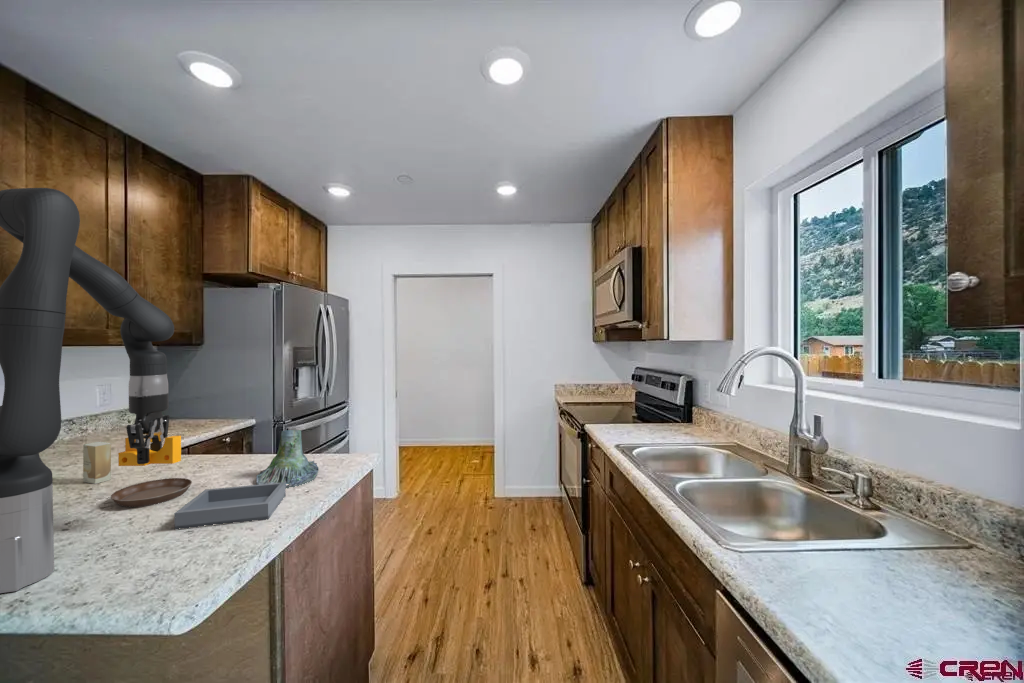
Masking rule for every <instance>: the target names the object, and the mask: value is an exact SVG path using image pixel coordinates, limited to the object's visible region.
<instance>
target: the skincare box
mask: <svg viewBox="0 0 1024 683" xmlns="http://www.w3.org/2000/svg"><path fill="white" fill-rule="evenodd" d="M82 448H83V449H82V450H83V451H82V453H83V454H82V457H83V458H82V462H83V463H82V464H83V465H82V467H83V468H82V482H83V483H88V484H99V483H103V482H107V481H110V480H112V443H111V442H105V441H104V442H103V441H95V442H90V443H86V444H82Z"/></svg>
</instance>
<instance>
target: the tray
mask: <svg viewBox="0 0 1024 683" xmlns="http://www.w3.org/2000/svg"><path fill="white" fill-rule="evenodd" d="M286 486H287V485H285V482H281V483H271V484H260V485H257V484H250V485H249V484H248V485H241V486H239V485H238V486H229V487H217V488H210V489H209V488H206V489H204V490H203V491H201V492H200V493H199V494H198V495H196V496H195V497H193V499H191V500H190V501H188V502H186V504H185V505H183V506H182V507H181V508H179V509H178V510H176V512H174V530H175V529H178V530H180V529H179V528H187V529H190V528H189V527H196V528H199V527H198V526H204V525H213V524H223V523H232V524H234V523H233V522H240V523H245V522H244V521H249V522H253V521H252V520H258V521H266V519H267V520H269V519H270V518H271V516H272V515H273V513H275V511H276V510H277V508H278V507H279V506H280V504H281V503H282V502H281V501H283V500H284V499H285V498H286V496H287V494H286V493H287V492H286V491H287V490H286ZM283 498H284V499H283ZM278 505H279V506H278ZM223 525H224V524H223Z"/></svg>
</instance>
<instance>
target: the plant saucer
mask: <svg viewBox="0 0 1024 683" xmlns="http://www.w3.org/2000/svg"><path fill="white" fill-rule="evenodd" d="M192 483H193V482H192V480H191V479H189V478H184V477H173V478H170V477H169V478H160V479H153V480H149V481H148V480H147V481H144V482H139V483H135V484H132V485H128V486H125V487H123V488H120V489H118V490H116V491H114V492H113V493H111V495H110V498H111V500H113V502H114V503H115V504H117V505H118V506H121V507H123V508H142V507H148V506H153V505H154V504H155V505H159V504H162V502H163V503H166V502H169V501H172V500H174V499H177V498H180V497H181V496H183V494H185V493H186V492H187V491H188V490H189V488H190V487H191V485H192ZM158 503H159V504H158Z"/></svg>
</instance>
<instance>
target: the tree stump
mask: <svg viewBox="0 0 1024 683" xmlns="http://www.w3.org/2000/svg"><path fill="white" fill-rule="evenodd" d="M302 436H303V435H302V430H299V429H298V430H297V429H290V430H281V433H280V440H279V444H278V449H277V451H276V452H277V453H276V455H275V456H274V457H273V458H272V459H271V462H270V464H269V465H268V466H267V467H266V468H265V469H262V470H261V471H259V472H258V474H257V475H256V485H260V484H271V483H281V482H285V485H286V484H289V485H286V488H287V489H290V488H289V487H293V488H296V487H295V486H297V487H300V486H299V485H301V486H303V485H302V484H304V485H306V484H308V483H311V482H313V481H315V479H316V478H317V477H318V474H319V466H318V463H317V462H315V461H314V460H313V461H312V460H310V461H309V460H308V457H307V456H306V454H304V452H303V442H302ZM312 480H313V481H312ZM310 481H311V482H310ZM307 482H308V483H307ZM305 483H306V484H305Z"/></svg>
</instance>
